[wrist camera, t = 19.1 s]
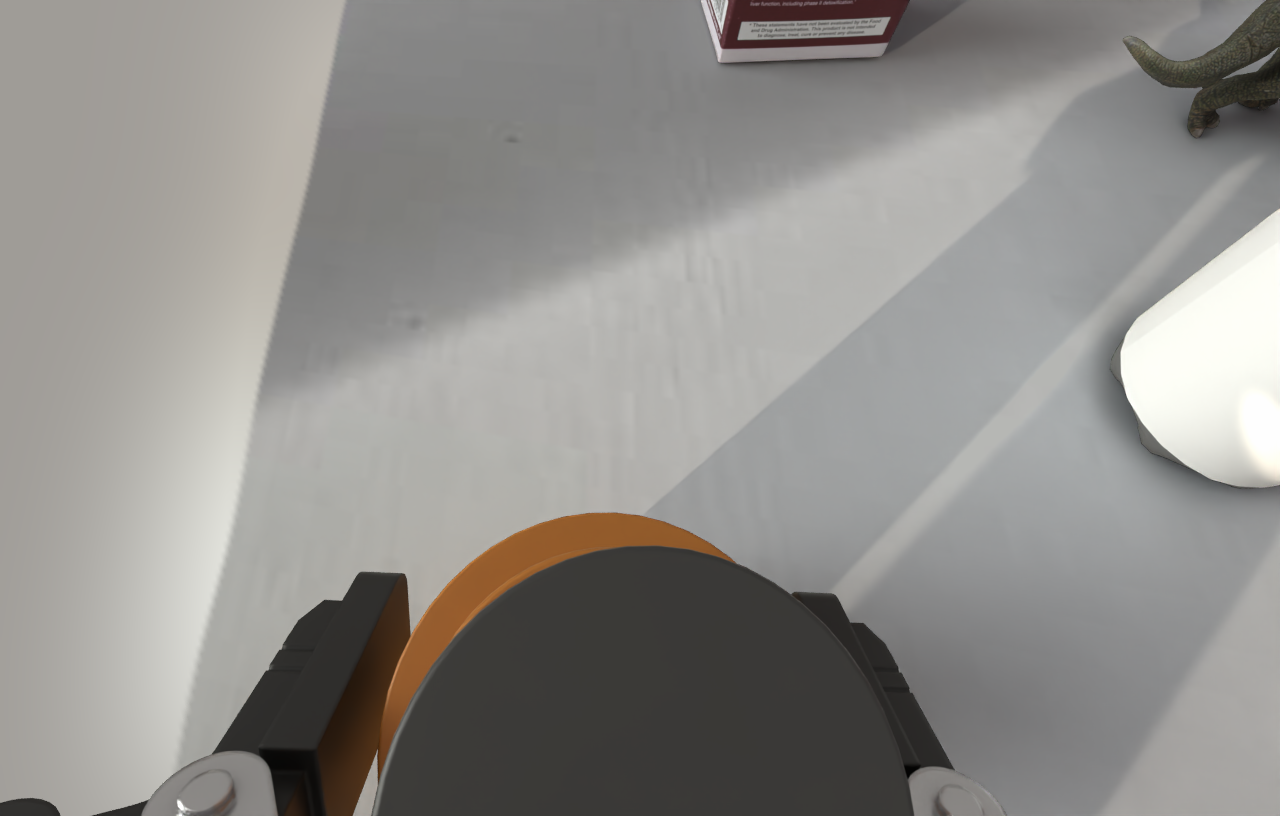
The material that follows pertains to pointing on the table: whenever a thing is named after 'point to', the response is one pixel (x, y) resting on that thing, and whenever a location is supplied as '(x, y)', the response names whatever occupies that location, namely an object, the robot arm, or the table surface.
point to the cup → (1213, 366)
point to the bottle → (629, 689)
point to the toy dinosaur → (1223, 68)
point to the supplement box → (801, 28)
